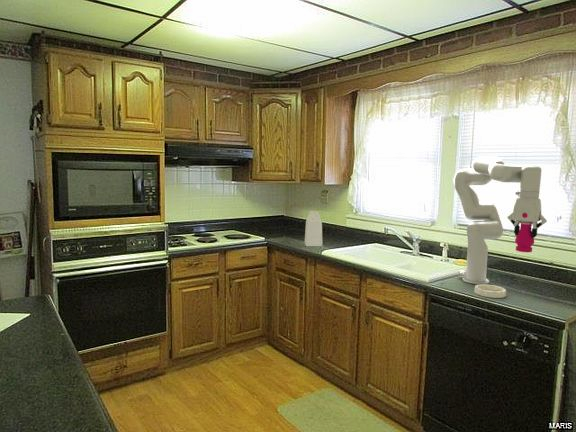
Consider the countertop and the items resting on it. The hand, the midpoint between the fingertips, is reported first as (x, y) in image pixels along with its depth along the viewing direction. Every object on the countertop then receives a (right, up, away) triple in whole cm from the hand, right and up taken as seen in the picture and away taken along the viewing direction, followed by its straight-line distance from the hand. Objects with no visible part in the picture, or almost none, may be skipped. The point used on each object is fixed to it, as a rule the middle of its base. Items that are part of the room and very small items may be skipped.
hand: (525, 235), depth 180 cm
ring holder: (-9, -28, +13) cm, 32 cm away
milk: (-85, -14, +124) cm, 151 cm away
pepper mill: (0, -7, +1) cm, 7 cm away
